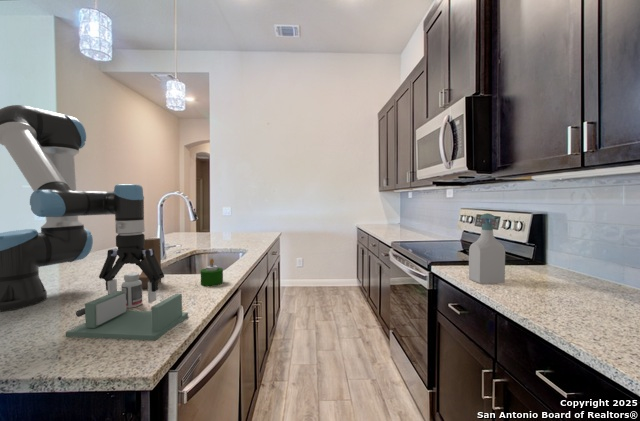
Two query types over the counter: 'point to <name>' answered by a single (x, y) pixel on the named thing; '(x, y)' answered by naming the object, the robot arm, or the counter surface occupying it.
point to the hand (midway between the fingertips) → (132, 301)
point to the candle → (211, 275)
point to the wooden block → (155, 244)
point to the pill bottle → (132, 290)
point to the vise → (137, 323)
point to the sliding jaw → (103, 309)
